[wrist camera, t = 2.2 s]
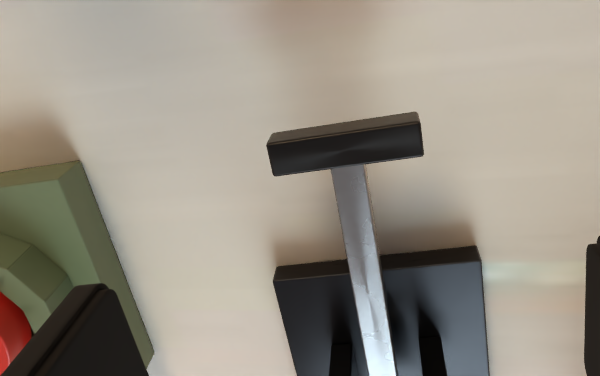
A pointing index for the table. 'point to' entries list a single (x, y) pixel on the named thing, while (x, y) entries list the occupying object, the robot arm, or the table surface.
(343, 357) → the bracket
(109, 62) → the table surface
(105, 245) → the control block
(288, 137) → the lever
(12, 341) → the button
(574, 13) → the table surface
